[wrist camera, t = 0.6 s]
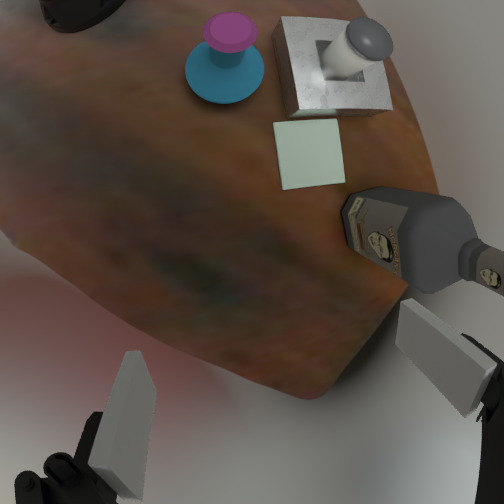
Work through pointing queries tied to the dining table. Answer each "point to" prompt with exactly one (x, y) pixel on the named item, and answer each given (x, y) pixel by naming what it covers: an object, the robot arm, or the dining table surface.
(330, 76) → the salt shaker
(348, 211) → the liquor
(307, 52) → the housing
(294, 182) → the mat
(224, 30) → the perfume bottle
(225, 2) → the dining table surface
